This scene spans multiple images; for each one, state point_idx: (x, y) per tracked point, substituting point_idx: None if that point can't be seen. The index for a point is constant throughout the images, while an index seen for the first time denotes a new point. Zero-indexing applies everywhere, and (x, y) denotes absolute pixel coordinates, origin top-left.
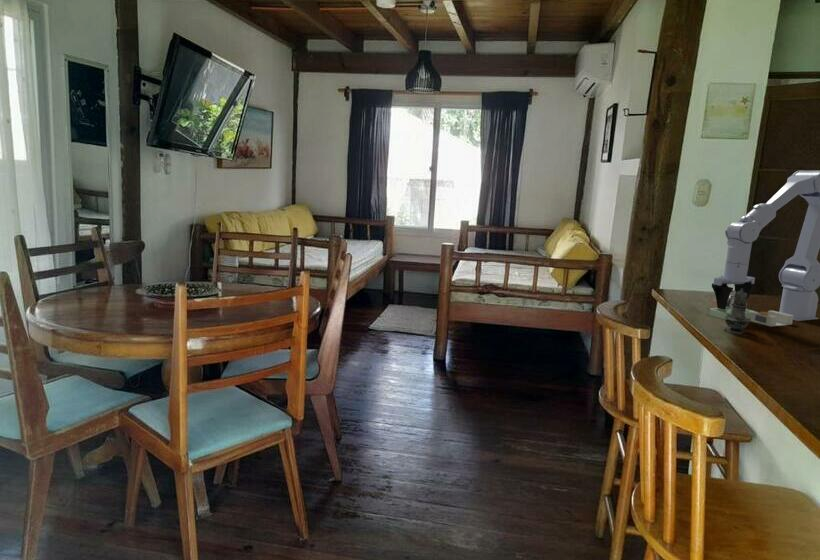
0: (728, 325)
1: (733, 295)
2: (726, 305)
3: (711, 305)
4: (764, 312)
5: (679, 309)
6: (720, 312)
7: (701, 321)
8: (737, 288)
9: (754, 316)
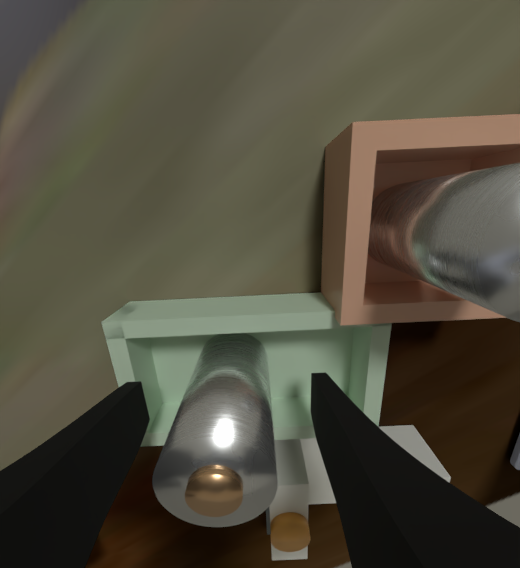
0: None
1: (472, 302)
2: (137, 451)
3: (333, 141)
4: (291, 539)
5: (53, 95)
6: None
7: (12, 383)
8: (386, 544)
9: None
